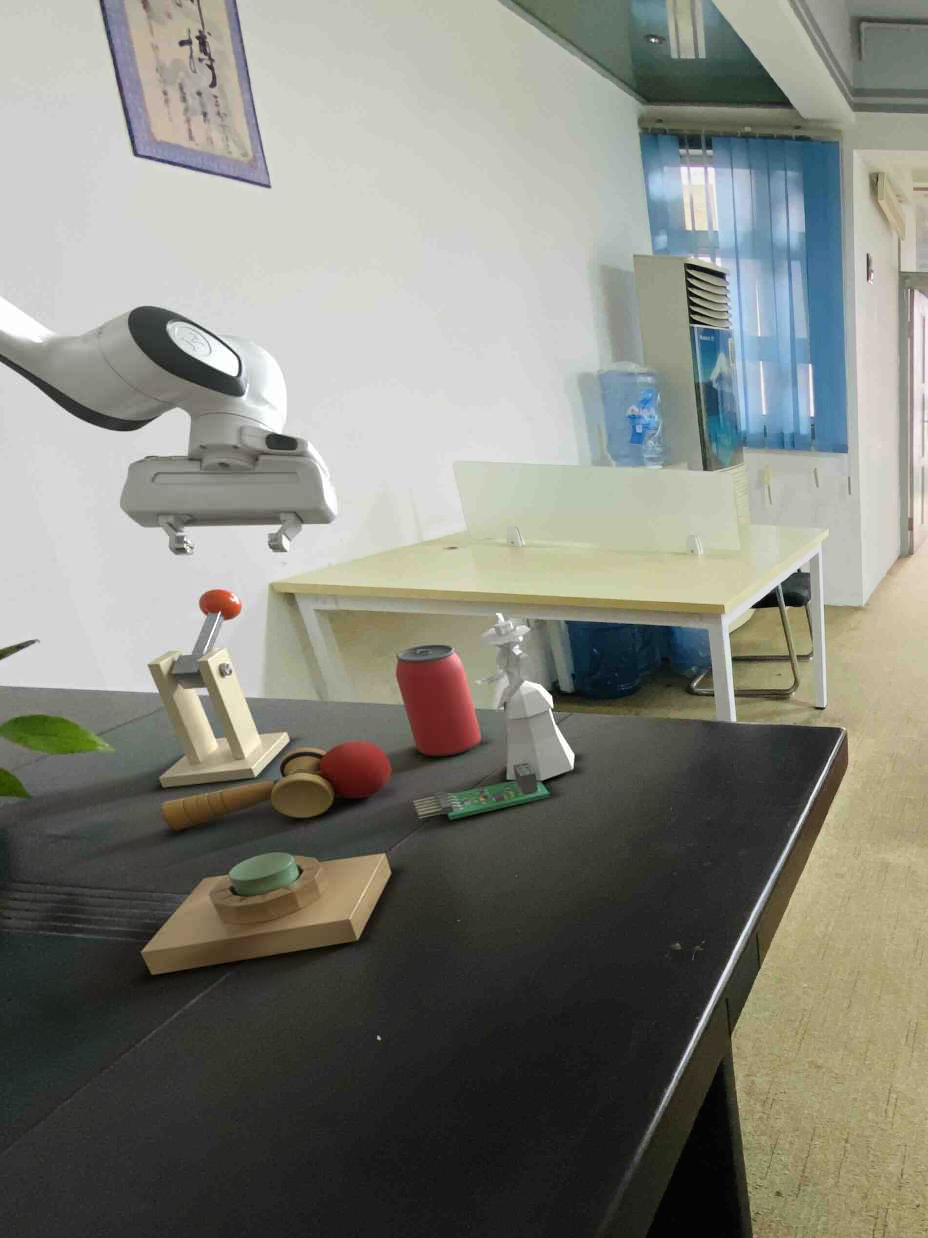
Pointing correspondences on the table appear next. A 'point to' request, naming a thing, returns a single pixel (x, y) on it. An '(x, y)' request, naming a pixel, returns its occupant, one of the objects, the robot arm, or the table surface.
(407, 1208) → the table surface
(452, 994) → the table surface
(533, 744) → the figurine
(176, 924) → the button block
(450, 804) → the circuit board
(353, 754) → the kendama
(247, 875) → the button
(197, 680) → the lever
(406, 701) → the beer can
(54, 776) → the table surface
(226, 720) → the bracket
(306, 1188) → the table surface
